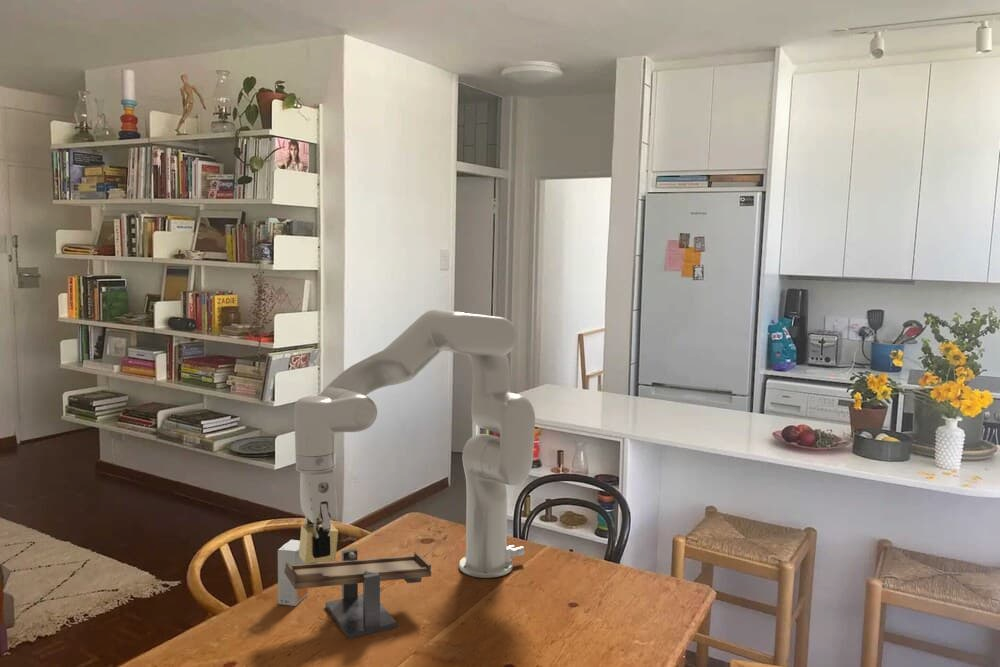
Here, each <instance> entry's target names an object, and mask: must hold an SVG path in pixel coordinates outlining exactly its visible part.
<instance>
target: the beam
mask: <svg viewBox="0 0 1000 667" xmlns="http://www.w3.org/2000/svg"><path fill="white" fill-rule="evenodd" d="M348 556H349V558H350V559H351V560H350V561H342V560H339V561H327V562H315V563H308V564H299V565H290V563H289V562H287V563H286V567H285V570H284V573H285V574H286V576H287V578H288V579H289V581H290V582H291V584H292V585H293V587H294V588H295V589H302V588H308V589H310V588H320V587H321V588H322V587H323V588H324V587H331V586H332V587H333V586H342V585H345V584H356V583H358V584H363V575H368V574H373V573H379V574H380V582H385V581H396V580H397V581H398V580H404V581H405V582H406V584H412V583H416V584H417V583H422V578H429V577H430V578H431V577H432V571H431V569H432V565H431V564H430V562H429V561H427V560H426V559H425V558H424V557H422V555H421V554H419V552H414V555H403V556H391V557H390V556H389V557H378V558H366V559H364V558H363V559H357V560H355V559H356V555H355V554H354V553H353V552H350V553H349V555H348Z"/></svg>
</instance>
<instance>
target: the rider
mask: <svg viewBox="0 0 1000 667" xmlns="http://www.w3.org/2000/svg"><path fill="white" fill-rule="evenodd" d="M330 524H331V529H330V555H329V556H325V557H320V558H314V556H313V538H314V537H315V535H314V524H310V525H305V524H301V528H300V536H299V541H300V546H299V556H300V557H301V559H302V560H303V561H304V563H308V564H312V563H325V562H336V559H337V557H336V556H337V550H338V548H337V547H338V539H339V538H338V537H339V536H338V535H339V530H338V529H337V528H336V526H335V525H334V524H332V523H331V522H330ZM320 527H322V524H321V525H318V530H319V528H320Z"/></svg>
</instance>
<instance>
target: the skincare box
mask: <svg viewBox="0 0 1000 667" xmlns="http://www.w3.org/2000/svg"><path fill="white" fill-rule="evenodd" d="M299 546H300V539H299V540H297V539H290V540H289V541H287V542H286V543H284V544H283V545H282V546H281V547H280V548H278V549H277V603H278V605H283V606H284V605H285V606H291V607H296V606H298V605H299V603H301V602H302V600H304V599H305V598H306V597H307V596H308V595H309V588H302V589H295V588H294V587H293V585H292V584H291V582H290V581H289V579H288V578H287V576H286V574H285V573H284V570H285V567H286V563H287V562H289V563H290V565H299V564H309V563H304V561H303V560H302V559H301V557H300V556H299Z"/></svg>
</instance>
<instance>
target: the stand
mask: <svg viewBox="0 0 1000 667" xmlns="http://www.w3.org/2000/svg"><path fill="white" fill-rule="evenodd" d="M350 552H353V553H354V554H355V555H356V559H355V560H358V549H357V548H352V549H351V548H350V549H346V550H341V561H350V560H351V559H350V558H349V556H348V555H349V553H350ZM358 584H359V583H356V584H345V585H341V595H342V598H341V599H335V600H330V601H326V602H325V608H326V610H327V611H328V612H329V614H330V615H331V617H332V619H334V621H335V623H336V624H337V625H338V627H339V628H340V630H341V631H342V633H343V634H344V635H345V637H346V639H348V640H350V639H354V638H358V637H364V636H366V635H371V634H374V633H380V632H383V631H387V630H392V629H397V628H398V622H397V620H396V619H395V618H394V617H393V616H392V615H391V613H390V612H389V611H388V610H387V609H386V608H385V606H384V605H383V604H382V603H381V581H380V574H379V573H373V574H368V575H363V583H362V594H359V591H358V590H359V589H358V588H359V587H358Z"/></svg>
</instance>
